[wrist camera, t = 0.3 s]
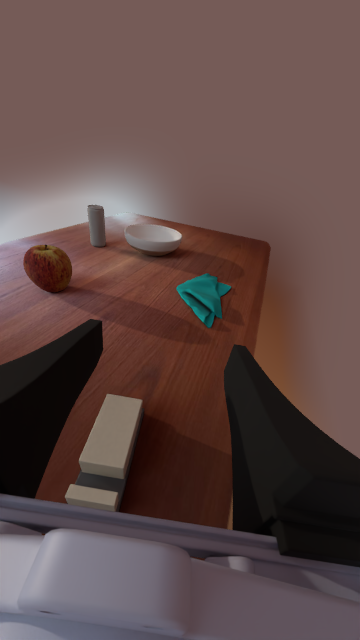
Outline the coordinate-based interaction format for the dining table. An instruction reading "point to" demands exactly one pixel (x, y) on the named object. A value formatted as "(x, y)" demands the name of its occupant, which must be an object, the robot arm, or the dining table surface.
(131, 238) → the bowl
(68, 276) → the apple
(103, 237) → the beverage can
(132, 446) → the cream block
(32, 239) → the dining table surface
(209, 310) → the cloth
